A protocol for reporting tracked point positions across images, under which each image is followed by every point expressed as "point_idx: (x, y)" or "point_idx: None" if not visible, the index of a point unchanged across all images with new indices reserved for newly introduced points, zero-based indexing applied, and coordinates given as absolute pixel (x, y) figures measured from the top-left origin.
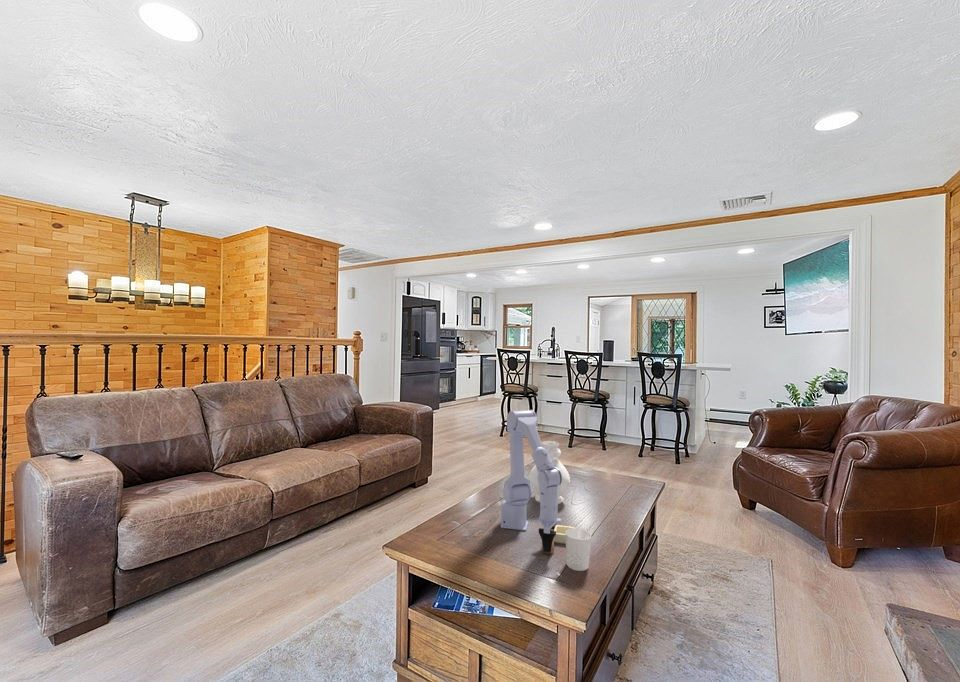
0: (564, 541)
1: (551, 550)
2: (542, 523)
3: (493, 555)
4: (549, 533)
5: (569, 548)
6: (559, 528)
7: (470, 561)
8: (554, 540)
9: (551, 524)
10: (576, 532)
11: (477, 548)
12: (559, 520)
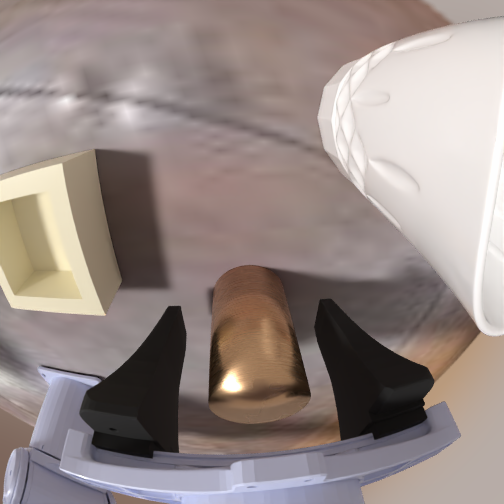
0: (100, 223)
1: (279, 289)
2: (373, 479)
3: (321, 412)
4: (444, 403)
5: (499, 227)
6: (14, 275)
7: None
8: (116, 279)
9: (414, 459)
10: (452, 178)
11: (286, 435)
12: (314, 478)
